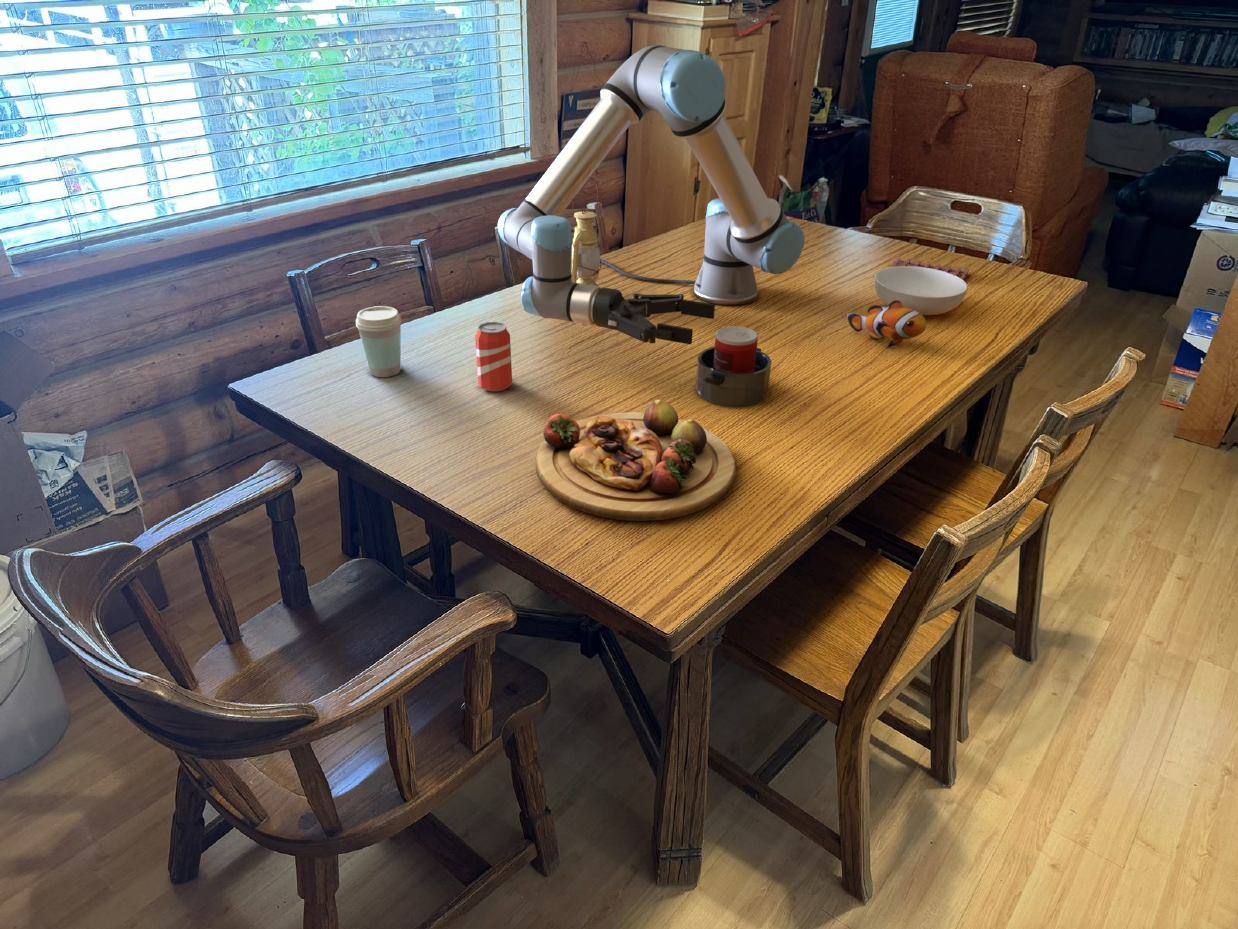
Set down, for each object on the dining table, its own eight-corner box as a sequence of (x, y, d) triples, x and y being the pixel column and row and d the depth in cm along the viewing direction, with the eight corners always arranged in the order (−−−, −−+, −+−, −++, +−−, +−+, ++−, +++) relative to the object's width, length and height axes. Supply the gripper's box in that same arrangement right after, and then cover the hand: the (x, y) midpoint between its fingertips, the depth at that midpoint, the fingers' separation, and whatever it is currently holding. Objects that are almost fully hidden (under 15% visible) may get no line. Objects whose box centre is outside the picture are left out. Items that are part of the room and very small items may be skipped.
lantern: (579, 290, 213) (578, 163, 197) (614, 298, 209) (616, 168, 193) (552, 305, 203) (549, 173, 188) (589, 314, 200) (589, 178, 184)
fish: (911, 358, 179) (915, 310, 175) (833, 342, 191) (835, 297, 187) (934, 345, 185) (939, 299, 181) (858, 331, 197) (860, 287, 193)
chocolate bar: (894, 263, 236) (896, 256, 235) (967, 275, 228) (969, 268, 227) (887, 270, 230) (889, 263, 229) (962, 283, 223) (963, 275, 222)
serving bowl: (863, 316, 201) (868, 287, 198) (876, 288, 218) (881, 261, 215) (958, 330, 195) (965, 301, 191) (964, 300, 212) (970, 273, 208)
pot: (683, 394, 165) (685, 363, 161) (716, 369, 175) (718, 339, 171) (748, 413, 158) (752, 381, 155) (779, 386, 168) (783, 355, 165)
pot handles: (704, 382, 158) (705, 377, 158) (747, 349, 171) (748, 345, 171) (718, 386, 157) (719, 381, 156) (760, 353, 170) (761, 348, 169)
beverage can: (490, 376, 170) (487, 318, 164) (518, 383, 167) (515, 324, 161) (472, 388, 165) (467, 329, 159) (500, 396, 163) (497, 335, 157)
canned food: (755, 382, 168) (761, 328, 163) (747, 399, 162) (753, 344, 156) (717, 376, 171) (721, 323, 165) (707, 393, 164) (711, 338, 158)
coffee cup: (416, 367, 173) (410, 309, 167) (389, 383, 166) (381, 324, 160) (381, 358, 176) (373, 302, 170) (353, 375, 169) (344, 316, 163)
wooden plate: (494, 484, 136) (491, 438, 132) (604, 406, 160) (604, 365, 156) (675, 551, 122) (678, 501, 118) (766, 455, 146) (771, 410, 141)
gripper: (622, 304, 181) (720, 320, 174) (571, 347, 161) (680, 367, 154) (623, 268, 177) (723, 283, 170) (570, 309, 157) (682, 327, 151)
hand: (703, 323), depth 162 cm, fingers open, 13 cm apart
